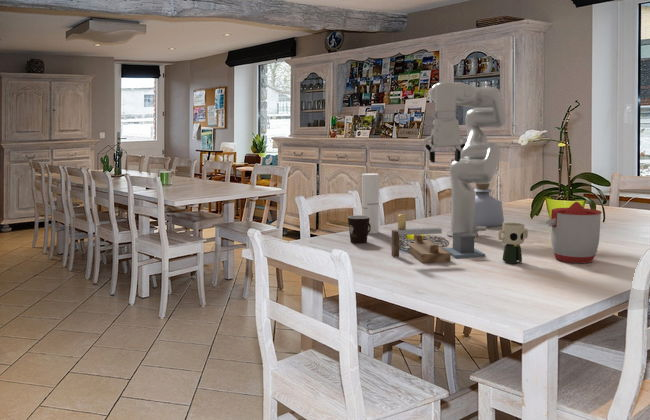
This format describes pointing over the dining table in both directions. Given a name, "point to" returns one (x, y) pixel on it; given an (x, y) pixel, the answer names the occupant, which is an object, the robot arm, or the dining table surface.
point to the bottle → (487, 207)
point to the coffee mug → (359, 228)
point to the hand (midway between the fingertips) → (444, 161)
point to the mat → (464, 255)
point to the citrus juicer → (575, 233)
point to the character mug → (512, 241)
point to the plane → (421, 249)
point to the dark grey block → (463, 242)
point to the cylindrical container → (371, 200)
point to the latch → (404, 231)
